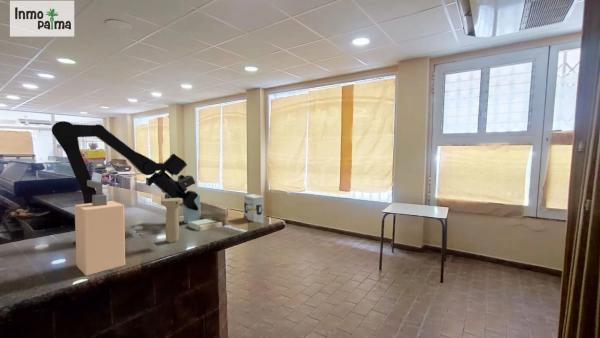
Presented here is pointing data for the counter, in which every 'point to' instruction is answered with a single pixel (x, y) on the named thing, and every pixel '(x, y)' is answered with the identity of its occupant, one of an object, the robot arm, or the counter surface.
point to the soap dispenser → (99, 233)
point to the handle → (172, 218)
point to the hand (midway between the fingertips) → (195, 209)
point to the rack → (212, 215)
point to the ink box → (253, 208)
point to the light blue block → (192, 212)
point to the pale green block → (200, 223)
